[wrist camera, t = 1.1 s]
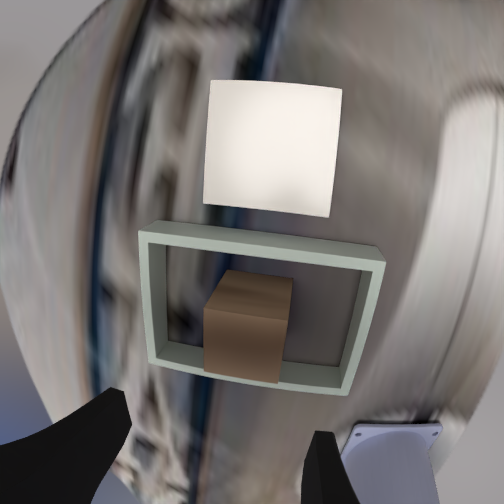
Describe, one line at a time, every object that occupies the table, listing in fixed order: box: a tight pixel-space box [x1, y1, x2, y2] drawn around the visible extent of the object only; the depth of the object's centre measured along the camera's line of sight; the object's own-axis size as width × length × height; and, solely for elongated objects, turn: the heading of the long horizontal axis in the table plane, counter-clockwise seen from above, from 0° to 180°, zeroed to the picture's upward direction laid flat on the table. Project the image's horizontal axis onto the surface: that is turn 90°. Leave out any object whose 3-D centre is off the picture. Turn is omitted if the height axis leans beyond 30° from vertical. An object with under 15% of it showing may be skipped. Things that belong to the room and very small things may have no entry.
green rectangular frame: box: [138, 220, 386, 396], centre depth 19 cm, size 9×13×2 cm
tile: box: [203, 80, 342, 218], centre depth 17 cm, size 7×7×1 cm
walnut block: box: [203, 270, 293, 384], centre depth 18 cm, size 4×4×5 cm
